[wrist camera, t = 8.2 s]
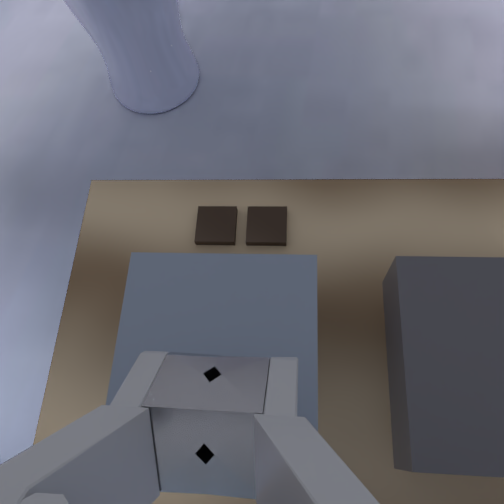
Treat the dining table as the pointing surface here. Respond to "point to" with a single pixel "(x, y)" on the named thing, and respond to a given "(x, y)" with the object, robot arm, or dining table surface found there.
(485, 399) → the charcoal key
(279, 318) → the slate key
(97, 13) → the beer glass
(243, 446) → the robot arm
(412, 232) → the wooden key base
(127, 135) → the dining table surface
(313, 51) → the dining table surface
